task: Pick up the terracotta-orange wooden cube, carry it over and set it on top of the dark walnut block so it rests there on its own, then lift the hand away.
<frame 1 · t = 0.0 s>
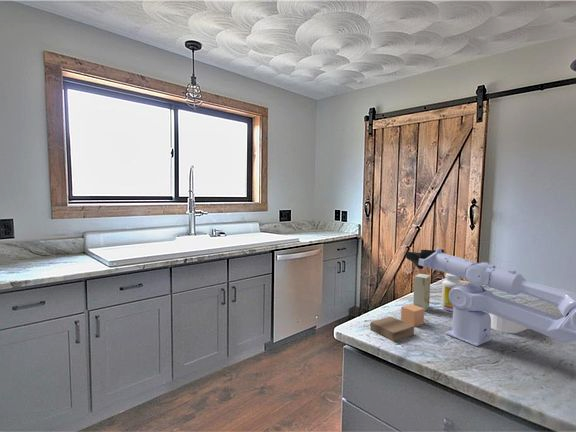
hand: (414, 253, 112), 22 cm above the worktop, tool horizontal, fingers open, 7 cm apart
walnut block: (391, 333, 99), on the worktop
orange cube: (412, 322, 107), on the worktop
supplement bottle: (451, 309, 120), on the worktop
skincare box: (421, 308, 120), on the worktop
toilet paper: (510, 329, 103), on the worktop
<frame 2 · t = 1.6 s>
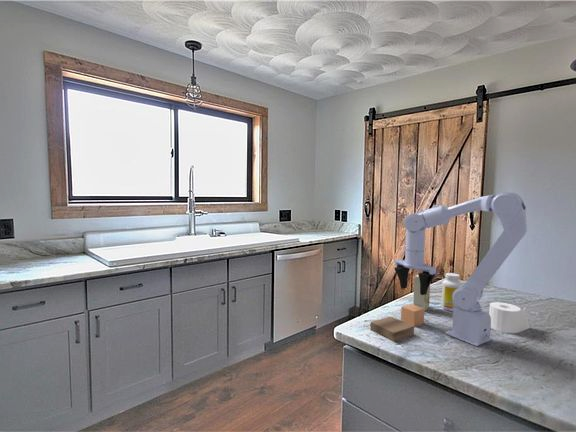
hand: (413, 291, 106), 10 cm above the worktop, tool pointing down, fingers open, 7 cm apart
nothing on the worktop moved.
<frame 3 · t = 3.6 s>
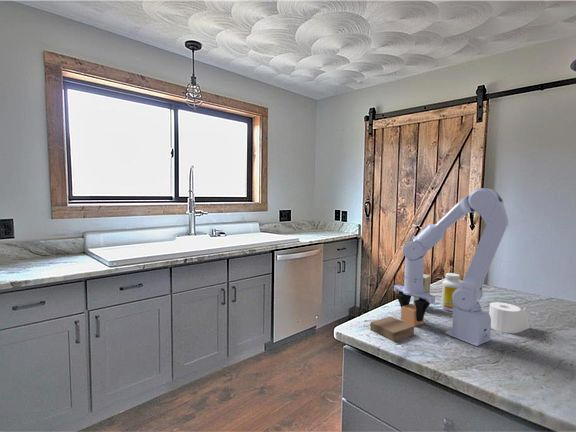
hand: (412, 317, 107), 1 cm above the worktop, tool pointing down, fingers closed on orange cube, 5 cm apart
orange cube: (412, 322, 107), on the worktop, touching gripper
everything else where it was.
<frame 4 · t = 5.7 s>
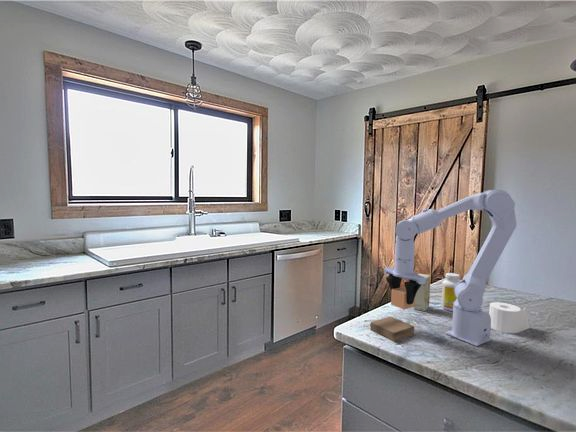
hand: (402, 301, 103), 8 cm above the worktop, tool pointing down, fingers closed on orange cube, 5 cm apart
orange cube: (402, 305, 103), point 7 cm above the worktop, touching gripper
everything else where it was.
when the fingers open (5 cm above the worktop, at t = 7.8 s): orange cube drops 1 cm, point 2 cm above the worktop.
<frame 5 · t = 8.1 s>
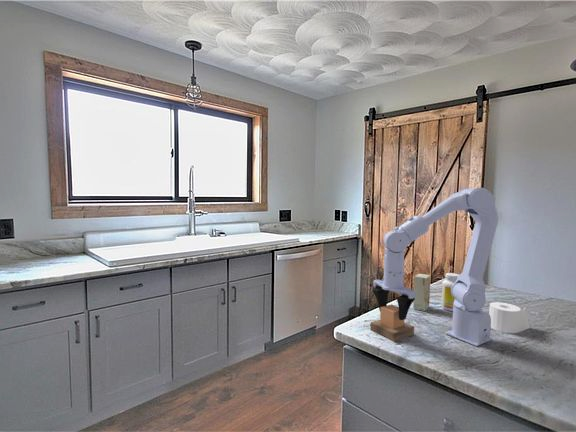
hand: (392, 315, 99), 5 cm above the worktop, tool pointing down, fingers open, 7 cm apart
orange cube: (392, 324, 99), point 2 cm above the worktop
everything else where it was.
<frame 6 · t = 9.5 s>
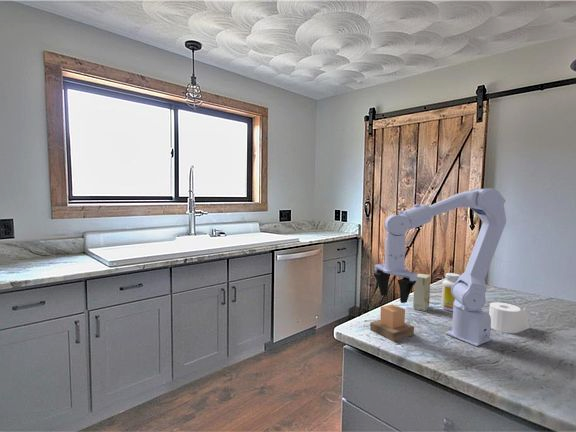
hand: (393, 298, 99), 10 cm above the worktop, tool pointing down, fingers open, 7 cm apart
walnut block: (391, 333, 99), on the worktop, touching orange cube
orange cube: (392, 323, 99), point 2 cm above the worktop, touching walnut block
everything else where it was.
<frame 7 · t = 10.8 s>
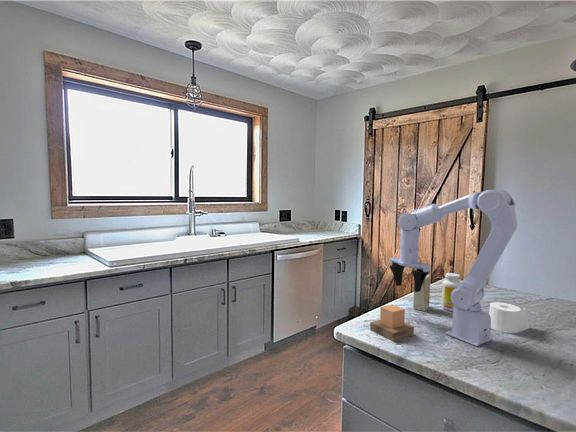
hand: (407, 288, 109), 10 cm above the worktop, tool pointing down, fingers open, 7 cm apart
nothing on the worktop moved.
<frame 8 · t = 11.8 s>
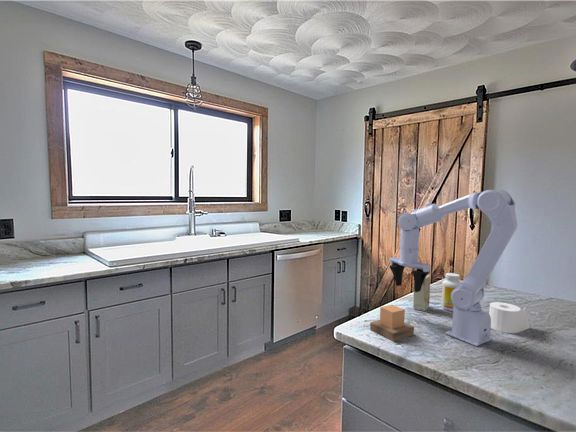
hand: (407, 288, 109), 10 cm above the worktop, tool pointing down, fingers open, 7 cm apart
walnut block: (391, 334, 99), on the worktop
orange cube: (391, 324, 99), point 2 cm above the worktop
everything else where it was.
at the end: orange cube inside the target area on the walnut block (0.0 cm from its centre), point 3.0 cm above the walnut block's base; orange cube tilted 0°; the gripper is holding nothing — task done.
